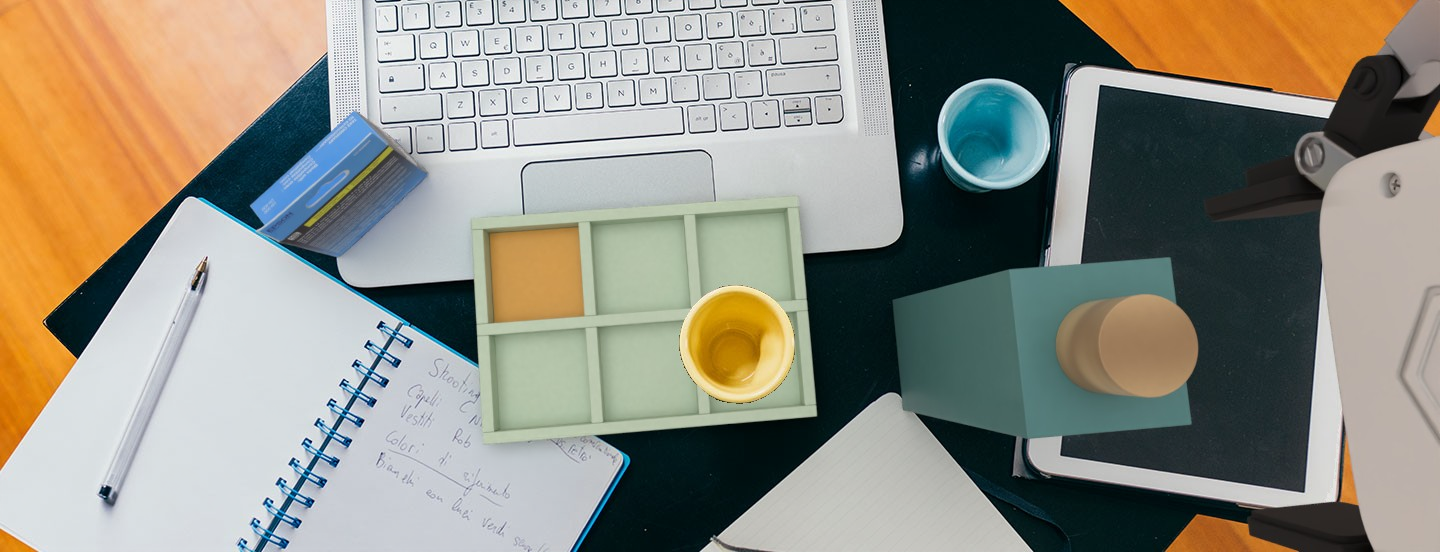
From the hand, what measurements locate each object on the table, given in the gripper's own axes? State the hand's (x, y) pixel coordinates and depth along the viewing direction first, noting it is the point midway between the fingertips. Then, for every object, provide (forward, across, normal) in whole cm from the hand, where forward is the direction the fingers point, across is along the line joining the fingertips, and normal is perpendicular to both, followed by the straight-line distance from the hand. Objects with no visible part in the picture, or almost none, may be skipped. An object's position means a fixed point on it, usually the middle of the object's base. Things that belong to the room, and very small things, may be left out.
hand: (1270, 360), depth 27 cm
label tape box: (+36, -15, -39) cm, 55 cm away
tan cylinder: (+14, 0, +2) cm, 14 cm away
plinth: (+36, 0, +2) cm, 36 cm away
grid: (+36, -4, -20) cm, 42 cm away
